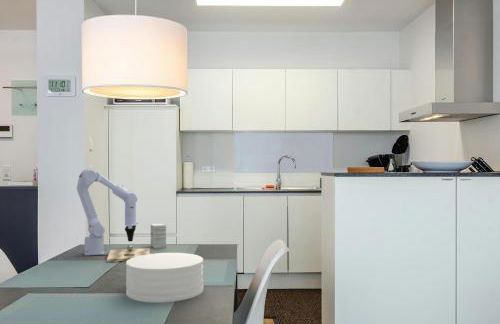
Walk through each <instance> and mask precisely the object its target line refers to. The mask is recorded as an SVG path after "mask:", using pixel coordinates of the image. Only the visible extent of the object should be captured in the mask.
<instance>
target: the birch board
mask: <svg viewBox="0 0 500 324" xmlns="http://www.w3.org/2000/svg"><path fill="white" fill-rule="evenodd" d="M147 254H151V253H150V247H144V248H143V247H142V248H141V247H140V248H133V249H132V251H128V250H127V248H123V249H121V248H120V249H110V250H109V252H108V255H107V258H106V263H118V261H124V262H126V261H127V260H129V259H131V258H134V257H137V256H142V255H147Z"/></svg>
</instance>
